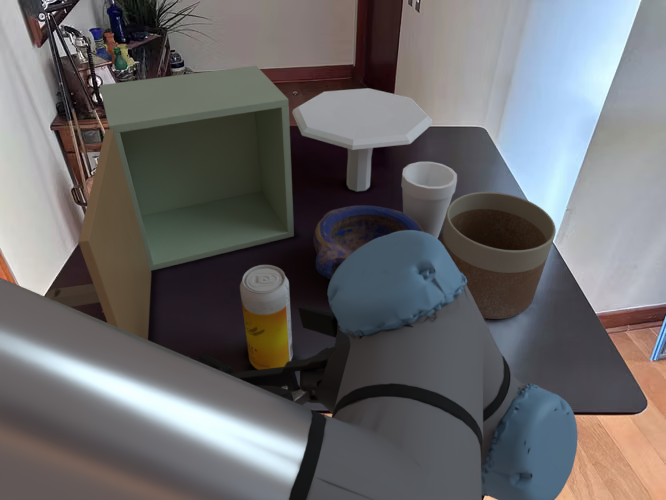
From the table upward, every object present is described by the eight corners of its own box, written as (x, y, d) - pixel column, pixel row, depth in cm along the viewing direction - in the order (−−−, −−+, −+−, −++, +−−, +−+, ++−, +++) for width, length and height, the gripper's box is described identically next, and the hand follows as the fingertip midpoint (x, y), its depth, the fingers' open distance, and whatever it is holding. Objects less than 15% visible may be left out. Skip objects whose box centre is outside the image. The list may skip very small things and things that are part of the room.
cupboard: (294, 236, 96) (288, 99, 80) (147, 271, 87) (108, 125, 71) (266, 192, 108) (256, 65, 92) (135, 219, 100) (99, 84, 83)
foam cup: (399, 250, 93) (406, 188, 85) (392, 221, 100) (398, 161, 92) (451, 250, 93) (463, 188, 85) (440, 221, 101) (451, 161, 93)
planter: (532, 332, 77) (558, 261, 69) (427, 309, 81) (439, 239, 73) (532, 268, 89) (554, 200, 81) (440, 250, 93) (452, 184, 85)
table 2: (279, 214, 102) (274, 136, 91) (307, 150, 124) (305, 81, 113) (422, 229, 98) (433, 149, 88) (424, 160, 120) (434, 90, 110)
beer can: (249, 344, 75) (239, 264, 66) (291, 340, 75) (287, 261, 66) (249, 377, 70) (238, 296, 61) (293, 373, 71) (289, 293, 61)
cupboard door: (88, 412, 65) (13, 249, 49) (108, 279, 85) (59, 133, 70) (144, 402, 67) (88, 240, 51) (151, 273, 87) (113, 128, 71)
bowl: (416, 245, 94) (422, 199, 88) (423, 315, 80) (432, 265, 74) (318, 240, 95) (318, 194, 89) (308, 308, 81) (307, 259, 75)
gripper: (271, 516, 37) (166, 421, 54) (477, 362, 52) (343, 325, 68) (244, 427, 36) (144, 358, 52) (465, 293, 50) (330, 272, 66)
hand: (256, 339), depth 60 cm, fingers open, 13 cm apart
